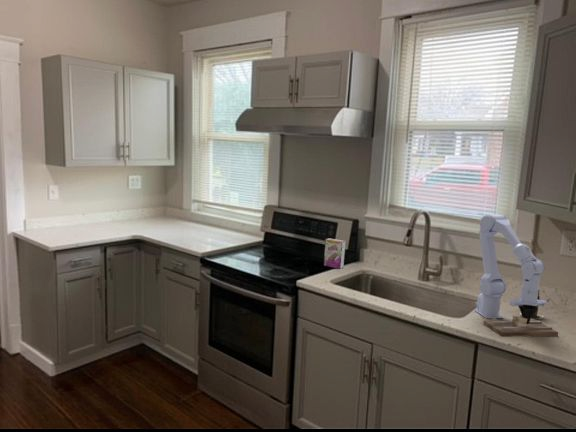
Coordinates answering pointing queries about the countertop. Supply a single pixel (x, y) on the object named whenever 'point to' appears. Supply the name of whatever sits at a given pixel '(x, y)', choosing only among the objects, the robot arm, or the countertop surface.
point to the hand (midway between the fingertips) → (525, 322)
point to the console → (520, 329)
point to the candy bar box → (334, 253)
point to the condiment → (537, 310)
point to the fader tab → (519, 321)
